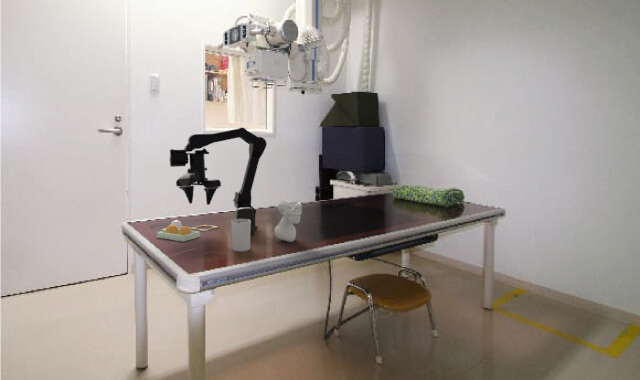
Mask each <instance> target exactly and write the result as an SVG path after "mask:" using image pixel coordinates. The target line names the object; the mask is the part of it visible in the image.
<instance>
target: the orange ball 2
mask: <svg viewBox="0 0 640 380" xmlns="http://www.w3.org/2000/svg"><path fill="white" fill-rule="evenodd" d="M189 227H190V226H183V227H182V228H181V229H180V230H179V235H187V234H191V229H190V228H191V227H190V228H189Z"/></svg>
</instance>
